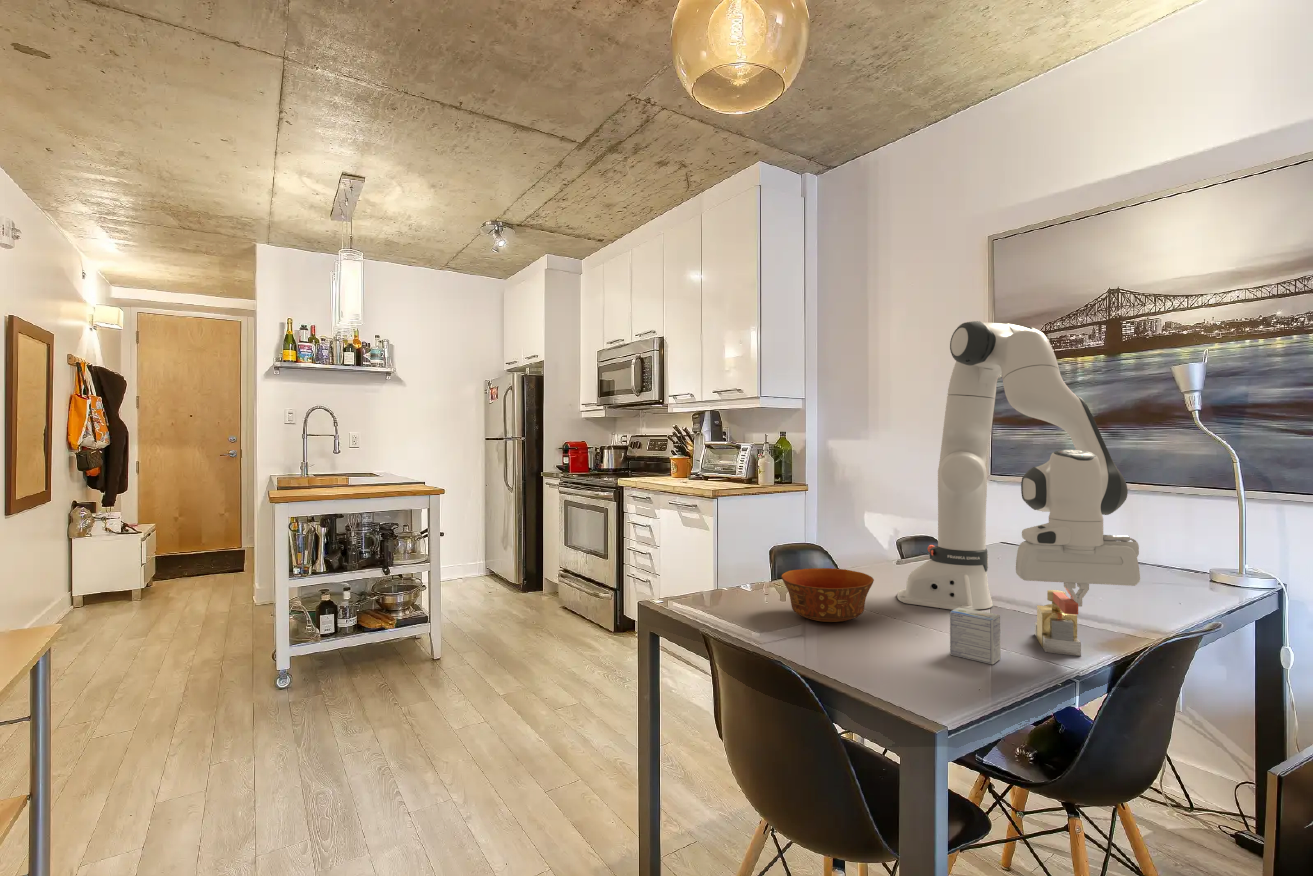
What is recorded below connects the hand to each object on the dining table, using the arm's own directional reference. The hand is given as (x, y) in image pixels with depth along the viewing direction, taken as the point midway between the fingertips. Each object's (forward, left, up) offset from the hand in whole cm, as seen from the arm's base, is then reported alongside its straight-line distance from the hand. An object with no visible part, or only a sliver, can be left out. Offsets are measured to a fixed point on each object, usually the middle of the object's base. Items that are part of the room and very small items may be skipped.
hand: (1076, 605), depth 122 cm
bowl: (-48, +8, -10) cm, 50 cm away
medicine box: (-18, -8, -10) cm, 22 cm away
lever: (-2, +3, -1) cm, 3 cm away
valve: (-2, +7, -10) cm, 12 cm away
